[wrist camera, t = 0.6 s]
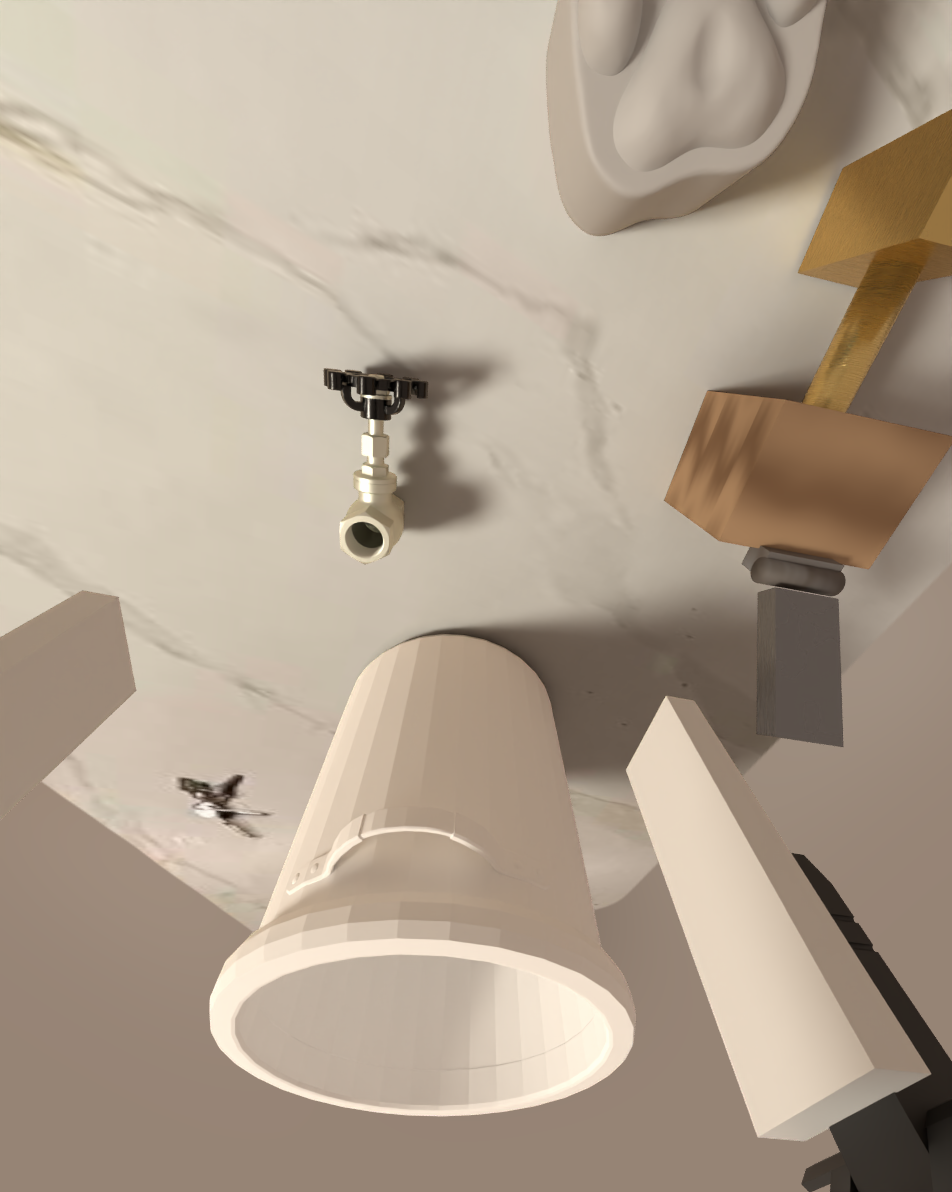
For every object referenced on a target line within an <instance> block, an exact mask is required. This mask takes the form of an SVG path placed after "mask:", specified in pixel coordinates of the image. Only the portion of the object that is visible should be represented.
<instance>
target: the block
mask: <svg viewBox="0 0 952 1192" xmlns="http://www.w3.org/2000/svg"><path fill="white" fill-rule="evenodd" d="M951 445H952V436H949V435H944V434H940V433H935V432H931V431H926V430H922V429H917V428H912V427H908V426H903V425H899V424H894V423H890V422H885V421H881V420H876V419H871V418H867V417H862V416H858V415H853V414H849V413H844V412H840V411H835V410H830V409H826V408H821V407H817V406H812V405H808V404H803V403H799V402H794V401H789V400H784V399H775V398H766V397H758V396H749V395H740V394H731V393H723V392H714V391H707V393H706V396H705V398H704V401H703V403H702V406H701V408H700V411H699V413H698V416H697V418H696V421H695V423H694V426H693V429H692V431H691V434H690V436H689V439H688V441H687V444H686V446H685V449H684V451H683V454H682V456H681V459H680V462H679V464H678V467H677V469H676V472H675V474H674V477H673V479H672V482H671V484H670V487H669V489H668V492H667V495H666V497H665V500H664V501H665V502H667V503H668V504H670V505H671V506H672V507H674V508H675V509H676V510H678V511H679V512H680V513H682V514H683V515H684V516H686V517H687V518H689V519H690V520H691V521H693V522H694V523H695V524H697V525H698V526H699V527H701V528H702V529H704V530H705V531H706V532H708V533H709V534H710V535H712V536H713V537H714V538H716V539H717V540H718V541H722V542H727V543H732V544H738V545H743V546H748V547H750V548H749V550H748V552H747V554H746V556H745V558H744V560H743V562H742V565H744V566H745V567H746V568H748V569H749V570H750V571H751V578H752V580H753V581H754V582H756V583H761V584H766V585H771V586H777V587H782V588H788V589H793V590H799V591H804V592H810V593H815V594H821V595H826V596H835V595H837V594H839V593H840V592H841V591H842V590H843V588H844V586H845V576H844V574H843V573H842V572H841V570H842V569H843V567H844V565H849V566H854V567H859V568H865V569H869V568H870V567H871V565H872V564H873V562H874V561H875V559H876V558H877V556H878V555H879V553H880V552H881V550H882V549H883V547H884V546H885V544H886V543H887V541H888V540H889V538H890V537H891V535H892V534H893V532H894V531H895V529H896V528H897V526H898V525H899V523H900V522H901V520H902V519H903V517H904V516H905V514H906V513H907V511H908V510H909V508H910V507H911V505H912V504H913V502H914V501H915V499H916V498H917V496H918V495H919V493H920V492H921V490H922V489H923V487H924V486H925V484H926V482H927V481H928V479H929V478H930V476H931V475H932V473H933V472H934V470H935V469H936V467H937V466H938V464H939V463H940V461H941V460H942V458H943V457H944V455H945V454H946V452H947V451H948V449H949V448H950V446H951ZM842 564H843V565H842Z"/></svg>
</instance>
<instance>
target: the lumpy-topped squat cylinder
mask: <svg viewBox="0 0 952 1192" xmlns="http://www.w3.org/2000/svg"><path fill="white" fill-rule="evenodd" d="M826 5H827V0H558V1H557V6H556V11H555V15H554V20H553V25H552V29H551V34H550V39H549V43H548V49H547V58H546V89H547V109H548V123H549V134H550V143H551V150H552V156H553V161H554V167H555V174H556V180H557V186H558V190H559V194H560V197H561V200H562V203H563V206H564V208H565V210H566V212H567V214H568V215H569V217H570V218H571V220H572V221H573V222H574V223H575V224H576V225H577V226H578V227H579V228H580V229H581V230H582V231H584V232H586V233H587V234H590V235H593V236H605V235H609V234H613V233H615V232H618V231H620V230H622V229H624V228H626V227H629V226H631V225H633V224H636V223H638V222H642V221H645V220H651V219H667V218H677V217H682V216H685V215H688V214H690V213H692V212H694V211H696V210H697V209H698V208H700V207H701V206H703V205H704V204H705V203H707V202H708V201H710V200H711V199H712V198H714V197H715V196H717V195H718V194H719V193H721V192H722V191H724V190H725V189H726V188H728V187H729V186H731V185H732V184H734V183H735V182H737V181H738V180H739V179H741V178H742V177H744V176H745V175H746V174H748V173H749V172H750V171H752V170H753V169H754V168H756V167H757V166H759V165H760V164H762V163H763V162H764V161H765V160H766V159H767V158H768V157H769V156H771V154H772V153H773V152H774V151H775V150H776V149H777V147H778V146H779V145H780V144H781V142H782V141H783V140H784V138H785V137H786V135H787V134H788V132H789V130H790V129H791V127H792V125H793V124H794V122H795V120H796V119H797V117H798V115H799V113H800V110H801V108H802V106H803V104H804V102H805V99H806V97H807V94H808V91H809V88H810V85H811V81H812V77H813V74H814V71H815V66H816V60H817V55H818V50H819V44H820V38H821V32H822V26H823V19H824V15H825V11H826Z"/></svg>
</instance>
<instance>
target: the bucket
mask: <svg viewBox="0 0 952 1192" xmlns="http://www.w3.org/2000/svg"><path fill="white" fill-rule="evenodd" d="M635 1019H636V1011H635V1007H634V1003H633V998H632V994H631V992H630V990H629V987H628V985H627V983H626V980H625V978H624V975H623V974H622V972H621V971H620V969H619V968H618V967H617V965H616V964H615V962H614V961H613V960H612V959H611V958H610V957H609V956H608V955H607V954H606V952H605V951H604V950H603V949H602V947H601V942H600V937H599V933H598V928H597V923H596V918H595V913H594V909H593V904H592V899H591V894H590V889H589V885H588V880H587V875H586V870H585V865H584V861H583V856H582V851H581V846H580V841H579V837H578V832H577V827H576V822H575V817H574V813H573V808H572V803H571V798H570V793H569V789H568V784H567V779H566V774H565V769H564V765H563V760H562V755H561V750H560V745H559V741H558V736H557V731H556V726H555V721H554V717H553V712H552V707H551V702H550V699H549V697H548V694H547V691H546V688H545V686H544V685H543V683H542V682H541V680H540V679H539V677H538V676H537V674H536V673H535V672H534V671H533V670H532V669H531V668H530V667H529V666H528V665H527V664H526V663H525V662H524V661H523V660H522V659H521V658H520V657H518V656H517V655H515V654H514V653H512V652H510V651H509V650H507V649H506V648H504V647H502V646H500V645H497V644H495V643H492V642H490V641H487V640H485V639H480V638H475V637H471V636H466V635H453V634H439V635H430V636H422V637H419V638H415V639H412V640H409V641H405V642H402V643H400V644H398V645H396V646H395V647H393V648H391V649H389V650H387V651H385V652H384V653H382V654H381V655H380V656H379V657H377V658H376V659H375V660H374V661H372V662H371V663H370V664H369V665H368V666H367V667H366V668H365V670H364V671H363V672H362V673H361V675H360V676H359V677H358V679H357V681H356V683H355V685H354V688H353V690H352V692H351V695H350V697H349V700H348V702H347V705H346V708H345V710H344V713H343V715H342V718H341V720H340V723H339V725H338V728H337V731H336V733H335V736H334V738H333V741H332V743H331V746H330V749H329V751H328V754H327V756H326V759H325V761H324V764H323V766H322V769H321V772H320V774H319V777H318V779H317V782H316V784H315V787H314V790H313V792H312V795H311V797H310V800H309V802H308V805H307V807H306V810H305V813H304V815H303V818H302V820H301V823H300V825H299V828H298V831H297V833H296V836H295V838H294V841H293V843H292V846H291V848H290V851H289V854H288V856H287V859H286V861H285V864H284V866H283V869H282V872H281V874H280V877H279V879H278V882H277V884H276V887H275V889H274V892H273V895H272V897H271V900H270V902H269V905H268V907H267V910H266V913H265V915H264V918H263V920H262V923H261V925H260V928H259V929H258V930H256V931H254V932H253V933H252V934H251V935H250V936H249V937H248V938H247V939H246V941H245V942H244V943H243V944H242V945H241V946H240V947H239V948H238V949H237V950H236V951H235V952H234V953H233V954H232V955H231V956H230V957H229V958H228V959H227V960H226V961H225V964H224V966H223V969H222V971H221V973H220V975H219V978H218V980H217V983H216V985H215V987H214V990H213V992H212V994H211V997H210V1027H211V1033H212V1035H213V1037H214V1038H215V1040H216V1042H217V1044H218V1046H219V1048H220V1049H221V1050H222V1051H223V1052H224V1053H225V1054H226V1055H227V1056H228V1057H229V1058H230V1059H231V1060H232V1061H233V1062H234V1063H235V1064H237V1065H238V1066H240V1067H241V1068H243V1069H244V1070H246V1071H247V1072H249V1073H251V1074H252V1075H254V1076H255V1077H257V1078H259V1079H261V1080H263V1081H266V1082H267V1083H270V1084H272V1085H274V1086H276V1087H278V1088H280V1089H283V1090H285V1091H288V1092H291V1093H294V1094H297V1095H300V1096H303V1097H306V1098H309V1099H312V1100H316V1101H321V1102H325V1103H329V1104H333V1105H337V1106H342V1107H347V1108H353V1109H359V1110H366V1111H371V1112H380V1113H390V1114H402V1115H422V1116H454V1115H455V1116H457V1115H477V1114H486V1113H495V1112H505V1111H511V1110H516V1109H521V1108H526V1107H532V1106H537V1105H540V1104H544V1103H548V1102H551V1101H555V1100H558V1099H561V1098H565V1097H567V1096H570V1095H572V1094H574V1093H577V1092H579V1091H582V1090H584V1089H587V1088H589V1087H590V1086H592V1085H594V1084H596V1083H597V1082H599V1081H600V1080H602V1079H604V1078H605V1077H607V1076H609V1075H610V1074H611V1073H612V1072H613V1071H614V1070H615V1069H616V1068H617V1067H618V1066H619V1065H620V1064H622V1063H623V1062H624V1060H625V1059H626V1057H627V1055H628V1053H629V1051H630V1049H631V1047H632V1046H633V1040H634V1034H635Z"/></svg>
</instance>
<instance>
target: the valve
mask: <svg viewBox="0 0 952 1192" xmlns="http://www.w3.org/2000/svg"><path fill="white" fill-rule="evenodd" d="M324 385H325V386H328V389H331V390H339V391H341V396H342V399H343V401H344V402H345V404H346V405H347V406H348V407H350V408H352V409H354V410H356V411H361V417H363V418H366V419H368V432H366V433H363V434H362V455H365V456H367V462H365V463H363V465H362V470H358V471H355V472H354V473H353V476H354V488H355V489H356V490H358V491H359V498H358V500H356V501H355V502H354V503H353V504H352V505H351V507H350V508H349V510H348V512H347V514H346V516H345V517H344V519H343V520H342V521H341V522H340V547H341V550H342V551H344V552H345V553H346V554H348V555H349V556H351V557H352V558H354V559H355V560H357V561H359V562H361V563H363V564H368V563H371V562H374V561H376V560H379V559H381V558H383V557H385V556H387V555H389V554H390V552H391V550H392V548H393V546H394V545H395V544H396V543H397V542H398V541H399V539H400V537H401V535H402V532H403V527H404V501H402V500H401V499H400V498H398V497H397V496H395V495H394V494H392V493H393V492H395V491H396V489H397V476H396V475H395V474H394V473H392V472H389V466H388V465H387V464H384V458H386V457H387V456H388V455H389V436H388V435H386V434H383V427H384V420H391V415H395V414H398V413H399V412H401V411H402V409H403V407H404V405H405V399H411V394H413V395H417V398H424V399H426V398H427V396H428V382H427V381H422V380H419V379H416V378H409V377H403V379H402V378H395V377H393V375H390V374H382V373H377V374H363V373H362V372H361V371H356V370H345V372H342V371H341V370H337V369H329V368H324ZM351 387H357V394H360V401H354V400H353V399H352V397H351ZM390 391H391V392H394V403H393V405H392V396H391V395H389V394H390Z"/></svg>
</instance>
